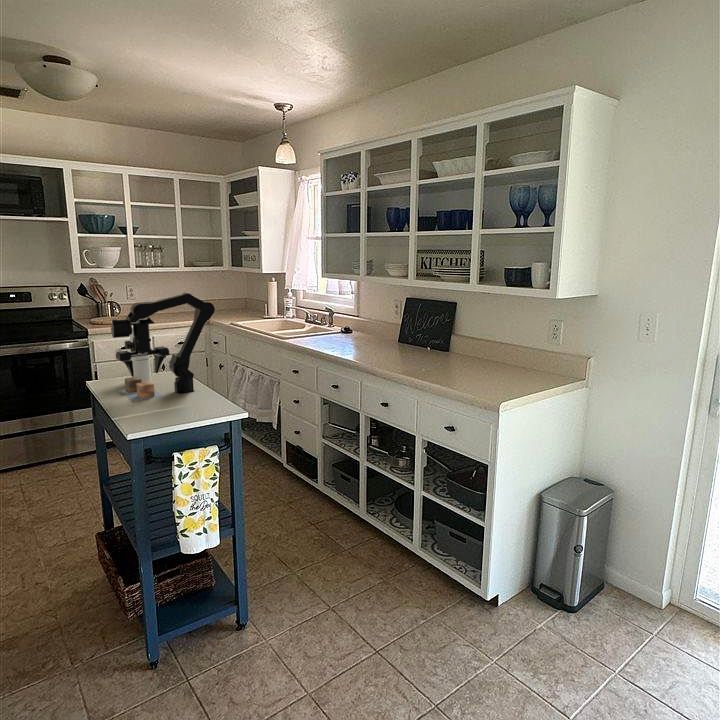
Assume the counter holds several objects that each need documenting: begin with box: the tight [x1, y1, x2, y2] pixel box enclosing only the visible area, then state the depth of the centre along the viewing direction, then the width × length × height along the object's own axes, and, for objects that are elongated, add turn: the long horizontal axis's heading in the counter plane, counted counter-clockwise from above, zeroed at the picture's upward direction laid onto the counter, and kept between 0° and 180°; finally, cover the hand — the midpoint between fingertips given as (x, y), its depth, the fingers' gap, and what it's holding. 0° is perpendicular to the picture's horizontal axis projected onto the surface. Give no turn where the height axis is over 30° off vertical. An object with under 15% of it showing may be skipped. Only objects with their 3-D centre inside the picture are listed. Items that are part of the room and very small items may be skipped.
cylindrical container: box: [129, 325, 152, 383], centre depth 227 cm, size 7×7×25 cm
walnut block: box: [124, 376, 142, 393], centre depth 214 cm, size 5×5×5 cm
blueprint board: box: [118, 389, 166, 402], centre depth 211 cm, size 12×19×1 cm, turn 41°
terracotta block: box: [136, 381, 155, 399], centre depth 206 cm, size 5×5×5 cm
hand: (144, 375), depth 205 cm, fingers open, 9 cm apart
